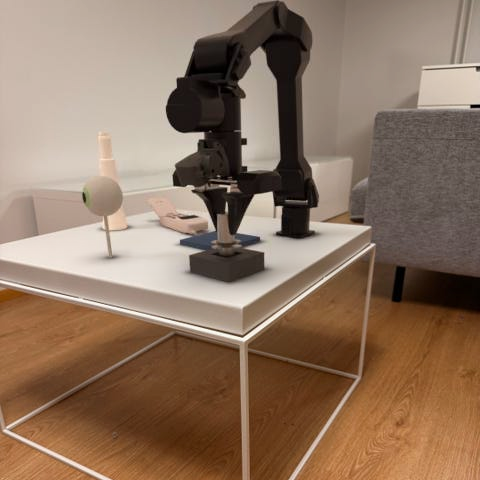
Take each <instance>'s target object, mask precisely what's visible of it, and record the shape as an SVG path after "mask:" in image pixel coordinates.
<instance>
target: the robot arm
mask: <svg viewBox="0 0 480 480" xmlns="http://www.w3.org/2000/svg"><path fill="white" fill-rule="evenodd" d="M313 40H314V39H313V32H312V29H311V28H310V26H309V24H308V22H307V21H306V19H305V18H304V17H303V16H302V15H300V14H299V13H296V12H294V11H293V10H291V9H289V8H288V6H287V4H286V3H285V2H284V1H280V0H270V1H269V0H268V1H263V2H257V4H256V5H253V7H252V9H251V10H250V11H249V12H248V13H246V14H245V15H244V16H243V17H242V18H240V19H239V20H238V21H237V22H235V24H233V25H232V26H231V27H230V28H228V29H226V30H225V31H222V32H217V33H213V34H210V35H209V34H208V35H205V36H202V37H199V38H198V39H197V40H196V41H195V43H194V45H193V49H192V52H191V54H190V58H189V60H188V61H189V62H188V64H187V68H186V70H185V72H184V73H185V74H184V76H180V77H176V79H175V80H176V83H175V84H176V88H174V89H173V90H172V91H171V92H170V94H169V96H168V98H167V101H166V105H165V115H166V119H167V122H168V123H169V125H170V127H171V128H172V129H173V130H174V131H176V132H178V133H181V134H197V133H203V138H200V139H198V141H197V144H196V146H197V150H196V151H195V152H193V153H191V154H188V155H187V156H185V157H184V158H183V159H181V160H179V161H178V162H176V163H175V164H174V168H175V170H174V172H173V173H172V174H171V175H172V176H171V177H172V186H173V187H177V188H187V186H192V187H194V189H191V193H192V194H195V195H196V196H198V198H200V199H201V200H202V201H203V203H204V205H205V207H206V209H207V211H208V214H209V218H210V219H211V223H212V224H213V228H214V231H216V232H217V233H218V231H217V213H219V212H226V208H227V212H228V221H229V230H230V235H235V234H236V233H238V231H239V229H240V227H241V224H242V221H243V220H244V217H245V214H246V213H247V210H248V208H249V206H250V204H251V202H252V201H253V199H254V197H255V195H262V194H267V193H272V199H273V205H274V207H281V214H280V230H278V231H276V232H275V235H276V236H277V235H278V236H284V237H290V238H296V239H297V238H298V239H300V238H301V239H302V238H304V237H306V236H310V235H313V234H315V233H316V230H312V229H310V222H311V220H310V219H311V218H310V217H311V209H315V208H319V202H320V194H319V191H318V188H317V185H316V183H315V180H314V177H313V168H312V166H311V165H310V164H309V163H310V162H308V160H307V159H306V157H305V154H304V152H305V151H304V115H303V113H304V111H303V76H304V73H305V72H306V70H307V67H308V65H309V63H310V61H311V50H312V48H313ZM259 48H260V49H261V50H262V51H263V53H264V54H265V59H266V66H267V68H268V69H269V71H270V73H271V74H272V76H273V77H274V79H275V80H276V81H275V82H276V99H277V118H278V119H277V120H278V140H279V161H278V163H277V165H276V167H275V169H273V170H267V169H257V170H250V171H249V170H248V165H243V146H247V145H248V138H247V137H242V100H245V99H246V98H247V95H246V94H247V93H246V92H245V90H244V89H243V88H241V87H240V85H239V82H240V80H243V78H244V77H245V76H246V74H247V72H248V71H249V69H250V68H251V65H252V59H251V56H252V54H253V53H254V52H256V51H257V50H258V49H259ZM227 186H229V191H228V187H227ZM226 206H227V207H226Z"/></svg>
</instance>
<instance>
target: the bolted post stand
mask: <svg viewBox="0 0 480 480" xmlns="http://www.w3.org/2000/svg"><path fill="white" fill-rule="evenodd" d="M217 231H218V241H217V240H214V241H212V243H215V244H216V245H214V246H212V248H214V249H217V248H218V256H221V257H225V258H229V257H232V256H235V248H243V247H242V245H238V244H237V243H238V242H241V241H240V240H237V239H236V240H235V235H230V230H229V221H228V211H225V212H219V213H217Z"/></svg>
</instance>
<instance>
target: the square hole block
mask: <svg viewBox="0 0 480 480" xmlns="http://www.w3.org/2000/svg"><path fill="white" fill-rule="evenodd" d="M188 263H189V273H191V274H196V275H199V276H204V277H206V278H211V279H215V280H218V281H221V282H222V281H223V282H226V283H231V282H234V281H237V280H239V279H242V278H244V277H247V276H251V275H253V274H255V273H259V272H260V271H264V270H265V252H264V251H259V250H254V249H248V248H244V247H240V248H235V256H232V257H229V258H225V257H221V256H218V248H217V249H214V248H213V249H209V250H203V251H199V252H194V253H191V254H189V255H188Z"/></svg>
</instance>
